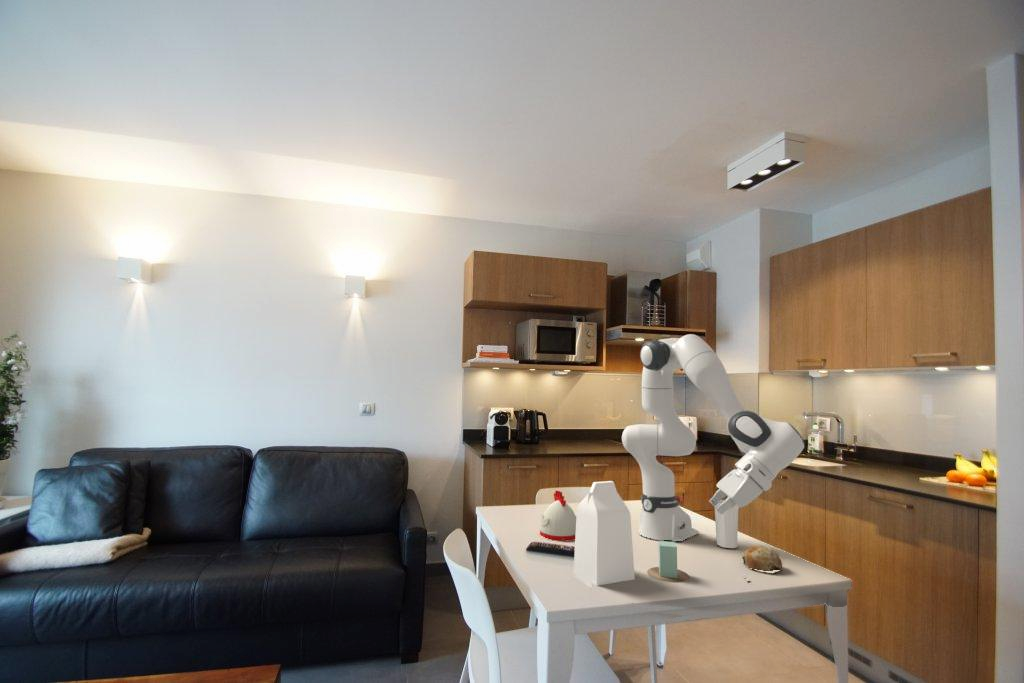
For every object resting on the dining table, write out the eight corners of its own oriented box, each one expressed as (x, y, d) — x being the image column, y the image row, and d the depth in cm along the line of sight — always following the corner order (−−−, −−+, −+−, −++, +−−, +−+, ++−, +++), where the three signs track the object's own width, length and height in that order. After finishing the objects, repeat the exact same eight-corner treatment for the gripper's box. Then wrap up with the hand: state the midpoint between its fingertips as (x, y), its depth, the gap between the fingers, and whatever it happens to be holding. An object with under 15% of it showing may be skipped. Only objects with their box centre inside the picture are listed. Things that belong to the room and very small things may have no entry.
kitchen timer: (568, 528, 180) (568, 486, 181) (586, 539, 167) (586, 494, 168) (533, 531, 175) (534, 488, 176) (549, 542, 162) (550, 496, 164)
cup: (738, 552, 156) (737, 506, 157) (711, 547, 160) (711, 503, 162) (741, 545, 163) (740, 501, 164) (716, 541, 167) (715, 498, 168)
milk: (596, 591, 123) (596, 487, 126) (573, 575, 134) (573, 479, 136) (634, 585, 128) (634, 484, 130) (609, 569, 138) (609, 477, 141)
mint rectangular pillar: (658, 570, 134) (658, 540, 135) (675, 572, 134) (674, 542, 134) (660, 576, 130) (660, 545, 131) (677, 578, 129) (676, 547, 130)
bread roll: (760, 587, 137) (771, 565, 135) (732, 560, 146) (741, 539, 143) (782, 581, 142) (793, 560, 139) (753, 556, 150) (763, 535, 148)
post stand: (665, 569, 139) (664, 544, 140) (698, 582, 130) (697, 555, 131) (638, 577, 133) (638, 550, 134) (671, 591, 124) (670, 563, 125)
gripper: (734, 459, 141) (699, 491, 142) (753, 468, 121) (712, 506, 122) (751, 476, 139) (715, 508, 140) (773, 488, 120) (732, 526, 120)
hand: (714, 507), depth 131 cm, fingers open, 8 cm apart
